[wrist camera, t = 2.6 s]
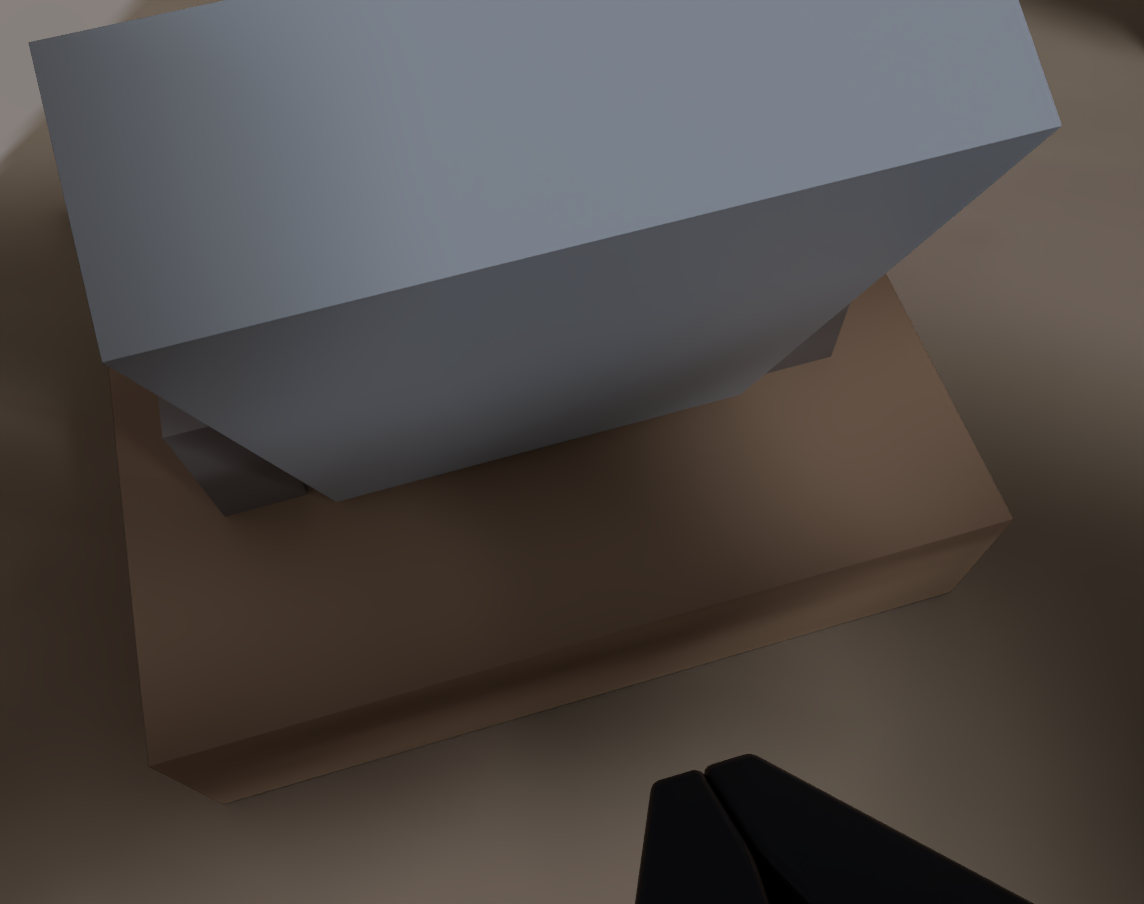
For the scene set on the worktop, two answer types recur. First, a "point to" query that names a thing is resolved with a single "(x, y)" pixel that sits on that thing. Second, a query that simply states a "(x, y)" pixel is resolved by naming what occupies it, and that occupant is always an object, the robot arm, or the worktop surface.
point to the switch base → (533, 559)
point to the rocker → (507, 204)
